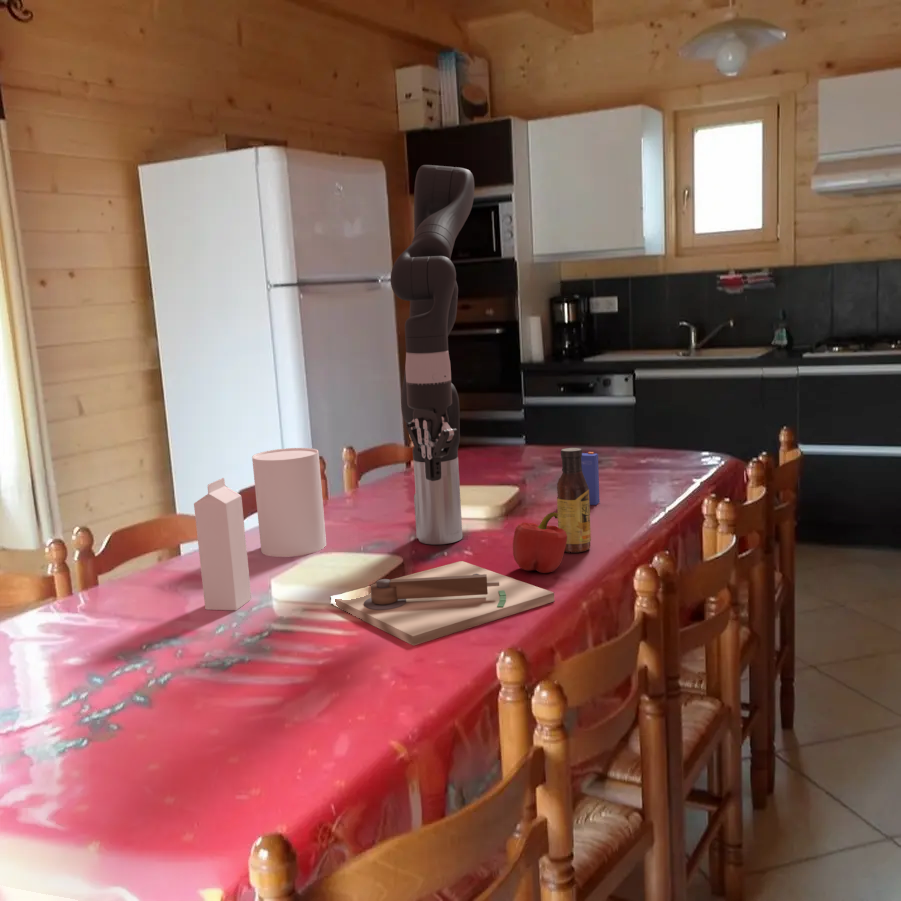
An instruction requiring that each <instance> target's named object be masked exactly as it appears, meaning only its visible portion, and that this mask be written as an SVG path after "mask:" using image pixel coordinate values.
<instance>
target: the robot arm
mask: <svg viewBox="0 0 901 901" xmlns="http://www.w3.org/2000/svg"><path fill="white" fill-rule="evenodd" d="M413 195H414V197H413V198H414V200H413V203H414V204H413V211H414V212H413V214H414V215H413V216H414V217H413V219H414V225H413V226H414V228H413V229H414V231H413V234H414V235H413V239H412V241H411V244H410V245H409V246H408V247H407V248H406V249H405V250H404V251H403V252H402V253H400V254H399V256H398V257H397V259H396V260H395V262H394V264H393V266H392V268H391V271H390V272H391V273H390V287H391V289H392V292H393V293H394V294H395V295H396V297H397V298H399V299H400V300H403V301H406V302H407V301H409V317H408V318H406V320H405V322H404V335H405V336H404V337H405V338H404V339H405V366H404V367H405V369H404V373H403V374H404V375H403V381H402V386H401V387H402V388H401V396H400V399H401V400H400V406H401V414H402V418H403V420H404V422H405V428H406V431H407V432H408V435H409V437H410V439H411V442H412V444H413V448H412V459H413V460H412V461H413V463H412V464H413V472H414V473H413V474H414V488H415V489H414V490H415V493H414V494H413V502H414V515H415V518H414V519H415V530H416V531H415V532H416V534H415V535H416V538H417V539H418V541H419V542H420V543H422V544H425V545H447V544H452V543H456V542H458V541H461V540H462V539H463V522H462V504H461V500H462V499H461V487H460V485H461V484H460V471H459V470H460V469H459V454H458V452H459V450H458V449H459V446H460V442H461V441H460V440H461V434H460V433H461V432H460V411H461V410H460V398H459V394H458V390H457V389H456V386H455V385H454V384H453V383H452V370H451V360H450V354H449V353H450V352H449V338H448V337H449V335H450V333H451V332H452V329H453V328H454V325H455V322H456V319H457V312H458V299H459V298H458V296H459V286H458V283H457V272H456V267H455V265H454V263H453V262H452V260H451V257H452V253H453V249H454V246H455V241H456V239H457V237H458V236H459V233H460V232H461V230H462V228H463V227H464V225H465V223H466V221H467V220H468V217H469V215H470V214H471V211H472V208H473V204H474V199H475V198H474V197H475V178H474V175H473V173H472V172H471V170H469V169H467V168H464V167H459V166H458V167H457V166H455V167H454V166H446V165H445V166H444V165H435V164H433V165H432V164H423V165H421V166H420V167H419V168H418V170H417V171H416V175H415V181H414V192H413Z"/></svg>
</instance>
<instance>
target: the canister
mask: <svg viewBox="0 0 901 901" xmlns="http://www.w3.org/2000/svg"><path fill="white" fill-rule="evenodd" d="M251 461H252V470H253V480H254V490H255V491H254V492H255V500H256V502H255V503H256V511H257V520H258V522H257V523H258V530H259V532H258V533H259V541H260V542H259V544H260V551H261V554H263V555H265V556H268V557H275V558H276V557H277V558H288V557H289V558H291V557H301V556H305V555H311V554H314V553H317V552H320V551H321V549H322V550H323V549H325V548H326V547H327V538H326V537H327V536H326V524H325V512H324V501H323V500H324V499H323V490H322V488H323V487H322V476H321V466H320V454H319V450H318V449H317V448H313V447H311V448H310V447H291V448H290V447H288V448H278V449H272V450H270V449H269V450H265V451H262V452H261V451H260V452H258V453H255V454H253V455H252V457H251ZM325 546H326V547H325ZM324 547H325V548H324Z"/></svg>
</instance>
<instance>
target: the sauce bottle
mask: <svg viewBox="0 0 901 901" xmlns="http://www.w3.org/2000/svg"><path fill="white" fill-rule="evenodd" d="M582 453H583V450H582V448H579V447H568V448H562V449H561V450H560V457H561V458H560V459H561V464H562V465H561V471H562V474H561V475H560V478H558V481H557V483H556V485H557V486H556V490H557V497H556V503H557V504H556V505H557V506H556V507H557V514H558V518H557V527H558V528H562V529H563V530H564V531H565V532H566V534H567V542H566V546H565V551H564V553H570V552H571V553H578V554H579V553H582V552H587V551H588V550H590V548H591V540H592V539H591V538H592V534H591V532H592V531H591V508H590V507H591V505H590V503H589V488H588V485H587V483H586V480H585V478H584V475H583V472H582V465H581V457H582Z"/></svg>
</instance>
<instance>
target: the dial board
mask: <svg viewBox="0 0 901 901" xmlns="http://www.w3.org/2000/svg"><path fill="white" fill-rule="evenodd" d="M483 574H486V575H487V582H496V581H499V586H490V587H487V592H488V594H486V595H468V596H450V597H432V598H414V599H398V600H397V601H396V602H394V603H390V604H375V603H373V602H372V600H371V593H370V594H368V595H366V596H364V597H360V598H356V599H351V600H342V599H335V602H336V605H337V606H338V607H339V608H341V609H343V610H344V611H343V610H342V611H343V612H345V611H346V612H345V613H347V612H348V613H347V614H349V613H350V614H349V615H351V614H352V615H351V616H353V617H355V616H356V617H355V618H357V619H359V618H360V619H359V620H361V619H362V620H361V621H363V622H364V623H367V624H369V625H371V626H373V627H374V628H378V629H379V630H381V631H383V632H385V633H387V634H389V635H391V636H394V637H395V638H397V639H399V640H401V641H403V642H405V643H408V644H409V645H411V646H416V645H417V646H418V645H420V644H423V643H426V642H429V641H432V640H436V639H439V638H441V637H446V636H449V635H451V634H452V635H453V634H455V633H458V632H461V631H464V630H467V629H471V628H474V627H477V626H480V625H483V624H486V623H490V622H494V621H496V620H499V619H503V618H506V617H509V616H512V615H515V614H519V613H522V612H525V611H528V610H531V609H534V608H538V607H541V606H544V605H547V604H550V603H553V602H555V592H553V591H552V590H549V589H545V588H542V587H538V586H537V585H536V586H535V585H533V584H530V583H527V582H524V581H521V580H519V579H515V578H513V577H510V576H506V575H504V574H501V573H498V572H495V571H492V570H490V569H486V568H485V567H480V566H478V565H475V564H472V563H469V562H466V561H463V560H461V561H460V560H459V561H456V562H452V563H448V564H445V565H442V566H441V565H440V566H437V567H434V568H433V567H432V568H430V569H425V570H423V571H418V572H415V573H410V574H407V575H403V576H400V577H396V578H392V579H390V580H394V579H411V578H429V577H447V576H465V575H483ZM339 608H338V609H339ZM341 609H340V610H341Z"/></svg>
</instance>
